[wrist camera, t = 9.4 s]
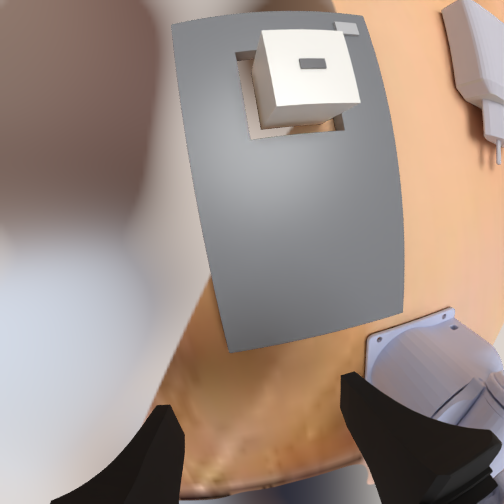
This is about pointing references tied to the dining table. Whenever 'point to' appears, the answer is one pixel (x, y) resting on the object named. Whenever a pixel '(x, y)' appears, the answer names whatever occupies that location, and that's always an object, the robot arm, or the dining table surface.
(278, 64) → the charger
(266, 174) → the socket board
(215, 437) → the dining table surface
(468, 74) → the charger
